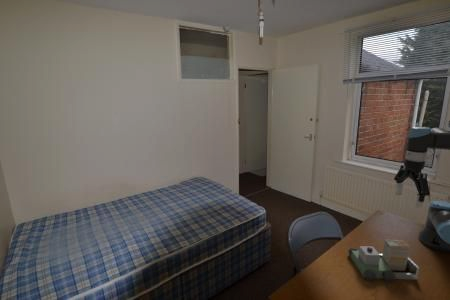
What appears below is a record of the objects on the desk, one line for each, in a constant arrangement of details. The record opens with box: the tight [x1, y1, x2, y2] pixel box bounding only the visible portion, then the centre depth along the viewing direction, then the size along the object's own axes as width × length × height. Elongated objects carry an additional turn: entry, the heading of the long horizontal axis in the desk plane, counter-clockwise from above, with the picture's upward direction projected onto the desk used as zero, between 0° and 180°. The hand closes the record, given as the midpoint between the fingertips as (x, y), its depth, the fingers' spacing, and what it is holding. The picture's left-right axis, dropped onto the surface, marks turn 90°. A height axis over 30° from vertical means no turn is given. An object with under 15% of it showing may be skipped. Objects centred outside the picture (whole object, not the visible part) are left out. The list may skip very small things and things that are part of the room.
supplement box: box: [381, 239, 411, 271], centre depth 105 cm, size 8×5×13 cm, turn 82°
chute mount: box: [379, 253, 420, 281], centre depth 105 cm, size 11×13×6 cm
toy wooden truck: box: [347, 245, 396, 282], centre depth 106 cm, size 12×16×10 cm
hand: (407, 200), depth 114 cm, fingers open, 13 cm apart
